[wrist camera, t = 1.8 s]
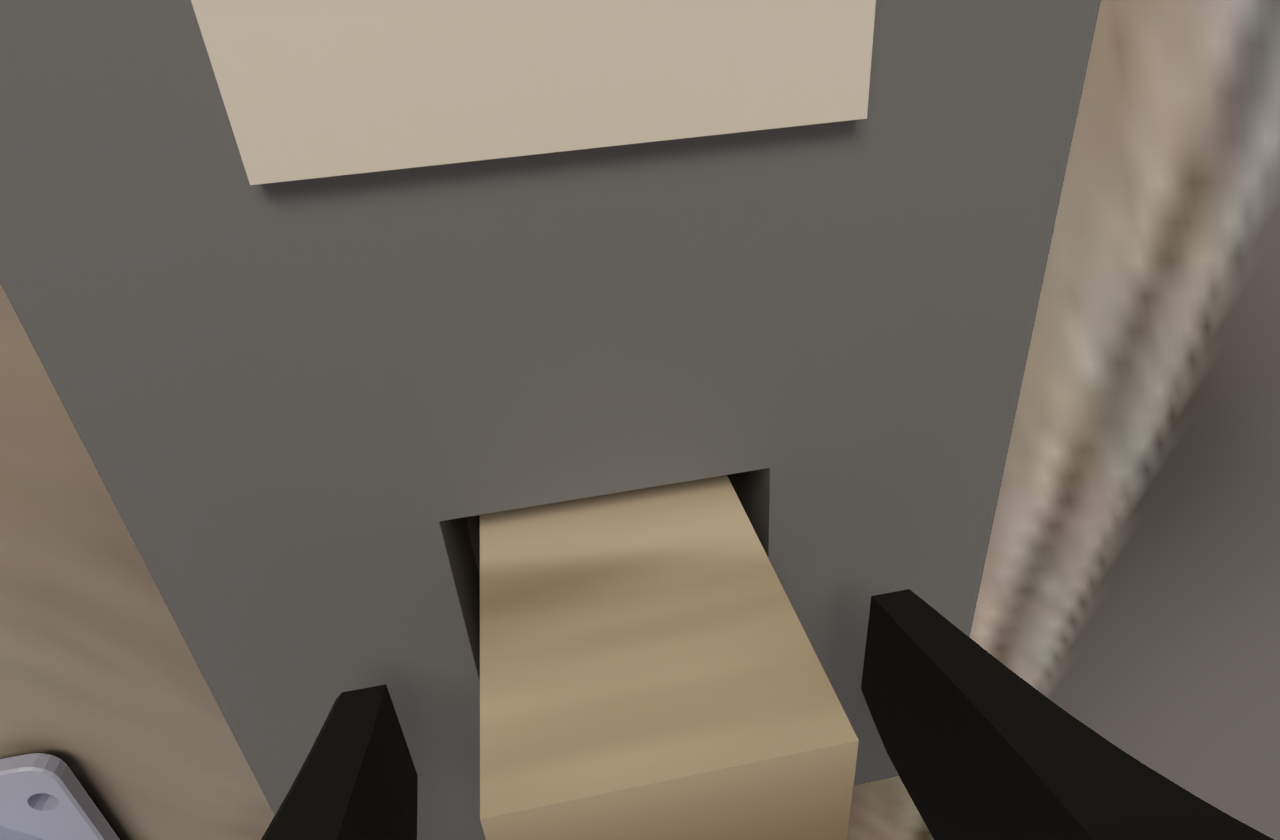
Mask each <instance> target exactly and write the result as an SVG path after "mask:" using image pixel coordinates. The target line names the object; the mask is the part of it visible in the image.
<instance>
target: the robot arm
mask: <svg viewBox="0 0 1280 840" xmlns="http://www.w3.org/2000/svg"><path fill="white" fill-rule="evenodd" d="M861 690H862V693H863V695H864V698H865V700H866V703H867V705H868V708H869V711H870V713H871V716H872V718H873V721H874V723H875V726H876V728H877V730H878V733H879V735H880V737H881V740H882V742H883V745H884V747H885V749H886V752H887V754H888V756H889V758H890V760H891V761H892V763H893V765H894V767H895V769H896V771H897V773H898V774H899V776H900V778H901V780H902V782H903V784H904V786H905V787H906V789H907V791H908V793H909V795H910V797H911V798H912V800H913V802H914V804H915V806H916V808H917V809H918V811H919V813H920V815H921V817H922V818H923V820H924V822H925V824H926V826H927V827H928V829H929V831H930V833H931V835H932V837H933V838H934V840H1274V839H1272V838H1270V837H1268V836H1266V835H1264V834H1262V833H1260V832H1259V831H1257V830H1255V829H1253V828H1251V827H1249V826H1248V825H1246V824H1244V823H1242V822H1240V821H1238V820H1236V819H1235V818H1233V817H1231V816H1229V815H1228V814H1226V813H1224V812H1222V811H1221V810H1219V809H1217V808H1215V807H1213V806H1212V805H1210V804H1208V803H1207V802H1205V801H1203V800H1201V799H1200V798H1198V797H1196V796H1195V795H1193V794H1191V793H1190V792H1188V791H1186V790H1185V789H1183V788H1182V787H1180V786H1178V785H1177V784H1175V783H1173V782H1171V781H1170V780H1168V779H1167V778H1165V777H1164V776H1162V775H1160V774H1159V773H1157V772H1155V771H1154V770H1152V769H1150V768H1149V767H1147V766H1146V765H1144V764H1142V763H1140V762H1139V761H1138V760H1136V759H1135V758H1133V757H1132V756H1130V755H1129V754H1127V753H1125V752H1124V751H1122V750H1121V749H1119V748H1118V747H1116V746H1115V745H1113V744H1112V743H1110V742H1109V741H1107V740H1106V739H1105V738H1103V737H1102V736H1100V735H1099V734H1097V733H1096V732H1094V731H1093V730H1092V729H1090V728H1088V727H1087V726H1086V725H1084V724H1083V723H1081V722H1080V721H1079V720H1077V719H1076V718H1074V717H1072V716H1071V715H1070V714H1069V713H1067V712H1066V711H1064V710H1063V709H1062V708H1060V707H1059V706H1058V705H1056V704H1055V703H1053V702H1052V701H1051V700H1049V699H1048V698H1047V697H1045V696H1044V695H1043V694H1041V693H1040V692H1039V691H1037V690H1036V689H1035V688H1033V687H1032V686H1031V685H1030V684H1028V683H1027V682H1026V681H1024V680H1023V679H1022V678H1020V677H1019V676H1018V675H1016V674H1015V673H1014V672H1012V671H1011V670H1010V669H1008V668H1007V667H1006V666H1005V665H1003V664H1002V663H1001V662H1000V661H998V660H997V659H996V658H994V657H993V656H992V655H991V654H989V653H988V652H987V651H986V650H984V649H983V648H982V647H981V646H979V645H978V644H977V643H976V642H974V641H973V640H972V639H971V638H969V637H968V636H967V635H966V634H964V633H963V632H962V631H961V630H960V629H958V628H957V627H956V626H955V625H953V624H952V623H951V622H950V621H948V620H947V619H946V618H945V617H944V616H942V615H941V614H940V613H939V612H937V611H936V610H935V609H934V608H932V607H931V606H930V605H929V604H927V603H926V602H925V601H924V600H922V599H921V598H920V597H919V596H917V595H916V594H915V593H914V592H912V591H911V590H910V589H907V590H901V591H896V592H890V593H885V594H879V595H874V596H871V603H870V612H869V621H868V629H867V638H866V647H865V656H864V665H863V674H862V682H861ZM417 792H418V775H417V772H416V769H415V766H414V763H413V761H412V758H411V755H410V752H409V749H408V746H407V743H406V740H405V737H404V734H403V732H402V729H401V726H400V723H399V720H398V717H397V714H396V711H395V708H394V705H393V703H392V700H391V697H390V694H389V691H388V688H387V685H386V684H385V685H379V686H374V687H368V688H363V689H357V690H352V691H346V692H342V693H341V694H340V695H339V696H338V697H337V699H336V700H335V702H334V704H333V706H332V708H331V710H330V712H329V714H328V716H327V718H326V720H325V722H324V724H323V726H322V728H321V730H320V732H319V734H318V736H317V738H316V740H315V742H314V744H313V746H312V748H311V750H310V752H309V754H308V756H307V758H306V760H305V762H304V764H303V765H302V767H301V769H300V771H299V773H298V775H297V777H296V779H295V780H294V782H293V784H292V786H291V788H290V790H289V792H288V793H287V795H286V797H285V799H284V800H283V802H282V804H281V806H280V808H279V809H278V811H277V813H276V815H275V816H274V818H273V820H272V822H271V823H270V825H269V827H268V829H267V830H266V832H265V834H264V836H263V837H262V839H261V840H417ZM0 840H120V839H119V838H118V836H117V835H116V833H115V832H114V831H113V829H112V828H111V826H110V825H109V823H108V822H107V821H106V819H105V818H104V816H103V815H102V814H101V812H100V811H99V809H98V808H97V806H96V805H95V804H94V802H93V801H92V799H91V798H90V797H89V795H88V794H87V792H86V791H85V789H84V788H83V787H82V785H81V784H80V782H79V781H78V779H77V778H76V777H75V775H74V774H73V772H72V771H71V770H70V768H69V767H68V765H67V764H66V763H65V762H64V761H63V760H61V759H60V758H58V757H56V756H54V755H51V754H45V753H30V754H25V755H19V756H14V757H9V758H3V759H0Z"/></svg>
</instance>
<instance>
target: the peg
mask: <svg viewBox="0 0 1280 840" xmlns="http://www.w3.org/2000/svg"><path fill="white" fill-rule="evenodd" d="M858 743H859V740H858V738H857V736H856V734H855V732H854V730H853V728H852V726H851V724H850V722H849V720H848V718H847V716H846V714H845V712H844V710H843V708H842V706H841V704H840V702H839V700H838V698H837V696H836V694H835V692H834V689H833V687H832V685H831V683H830V681H829V679H828V677H827V675H826V673H825V671H824V669H823V667H822V665H821V663H820V661H819V659H818V657H817V655H816V653H815V651H814V649H813V647H812V645H811V643H810V641H809V639H808V637H807V635H806V633H805V631H804V629H803V627H802V625H801V623H800V621H799V619H798V617H797V615H796V613H795V611H794V609H793V607H792V605H791V603H790V601H789V599H788V597H787V595H786V593H785V591H784V589H783V587H782V585H781V583H780V581H779V579H778V577H777V575H776V573H775V571H774V569H773V567H772V565H771V563H770V561H769V559H768V557H767V555H766V553H765V551H764V549H763V547H762V545H761V543H760V541H759V539H758V537H757V535H756V533H755V531H754V528H753V526H752V524H751V522H750V520H749V518H748V516H747V514H746V512H745V510H744V508H743V506H742V504H741V502H740V500H739V498H738V496H737V494H736V492H735V490H734V488H733V486H732V484H731V482H730V480H729V478H728V476H727V475H723V476H717V477H710V478H704V479H698V480H692V481H686V482H679V483H673V484H667V485H661V486H655V487H649V488H642V489H636V490H630V491H624V492H618V493H612V494H605V495H599V496H593V497H587V498H581V499H575V500H568V501H562V502H556V503H550V504H544V505H537V506H531V507H525V508H519V509H513V510H507V511H500V512H494V513H488V514H482V515H480V821H481V825H482V828H483V831H484V835H485V838H486V840H847V838H848V830H849V821H850V812H851V804H852V795H853V786H854V778H855V769H856V760H857V751H858Z"/></svg>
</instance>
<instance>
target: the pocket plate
mask: <svg viewBox="0 0 1280 840" xmlns="http://www.w3.org/2000/svg"><path fill="white" fill-rule="evenodd" d="M1100 2H1101V0H0V283H1V285H2V287H3V289H4V291H5V292H6V294H7V296H8V298H9V300H10V302H11V304H12V306H13V308H14V310H15V312H16V314H17V316H18V318H19V320H20V322H21V324H22V325H23V327H24V329H25V331H26V333H27V335H28V337H29V339H30V341H31V343H32V345H33V347H34V349H35V351H36V353H37V355H38V357H39V358H40V360H41V362H42V364H43V366H44V368H45V370H46V372H47V374H48V376H49V378H50V380H51V382H52V384H53V386H54V388H55V389H56V391H57V393H58V395H59V397H60V399H61V401H62V403H63V405H64V407H65V409H66V411H67V413H68V415H69V417H70V419H71V421H72V422H73V424H74V426H75V428H76V430H77V432H78V434H79V436H80V438H81V440H82V442H83V444H84V446H85V448H86V450H87V452H88V454H89V455H90V457H91V459H92V461H93V463H94V465H95V467H96V469H97V471H98V473H99V475H100V477H101V479H102V481H103V483H104V485H105V486H106V488H107V490H108V492H109V494H110V496H111V498H112V500H113V502H114V504H115V506H116V508H117V510H118V512H119V514H120V516H121V518H122V519H123V521H124V523H125V525H126V527H127V529H128V531H129V533H130V535H131V537H132V539H133V541H134V543H135V545H136V547H137V549H138V550H139V552H140V554H141V556H142V558H143V560H144V562H145V564H146V566H147V568H148V570H149V572H150V574H151V576H152V578H153V580H154V582H155V583H156V585H157V587H158V589H159V591H160V593H161V595H162V597H163V599H164V601H165V603H166V605H167V607H168V609H169V611H170V613H171V615H172V616H173V618H174V620H175V622H176V624H177V626H178V628H179V630H180V632H181V634H182V636H183V638H184V640H185V642H186V644H187V646H188V647H189V649H190V651H191V653H192V655H193V657H194V659H195V661H196V663H197V665H198V667H199V669H200V671H201V673H202V675H203V677H204V679H205V680H206V682H207V684H208V686H209V688H210V690H211V692H212V694H213V696H214V698H215V700H216V702H217V704H218V706H219V708H220V710H221V712H222V713H223V715H224V717H225V719H226V721H227V723H228V725H229V727H230V729H231V731H232V733H233V735H234V737H235V739H236V741H237V743H238V744H239V746H240V748H241V750H242V752H243V754H244V756H245V758H246V760H247V762H248V764H249V766H250V768H251V770H252V772H253V774H254V776H255V777H256V779H257V781H258V783H259V785H260V787H261V789H262V791H263V793H264V795H265V797H266V799H267V801H268V803H269V805H270V807H271V808H272V810H273V812H274V814H275V815H276V813H277V811H278V809H279V808H280V806H281V804H282V802H283V800H284V799H285V797H286V795H287V793H288V792H289V790H290V788H291V786H292V784H293V782H294V780H295V779H296V777H297V775H298V773H299V771H300V769H301V767H302V765H303V764H304V762H305V760H306V758H307V756H308V754H309V752H310V750H311V748H312V746H313V744H314V742H315V740H316V738H317V736H318V734H319V732H320V730H321V728H322V726H323V724H324V722H325V720H326V718H327V716H328V714H329V712H330V710H331V708H332V706H333V704H334V702H335V700H336V699H337V697H338V696H339V695H340V694H341V693H342V692H346V691H352V690H357V689H363V688H368V687H374V686H379V685H385V684H386V685H387V688H388V691H389V694H390V697H391V700H392V703H393V705H394V708H395V711H396V714H397V717H398V720H399V723H400V726H401V729H402V732H403V734H404V737H405V740H406V743H407V746H408V749H409V752H410V755H411V758H412V761H413V763H414V766H415V769H416V772H417V775H418V792H417V840H486V838H485V835H484V831H483V828H482V825H481V821H480V581H479V577H478V572H477V568H476V564H475V559H474V555H473V551H472V547H471V542H470V538H469V534H468V529H467V525H466V521H465V517H470V516H476V515H482V514H488V513H494V512H500V511H507V510H513V509H519V508H525V507H531V506H537V505H544V504H550V503H556V502H562V501H568V500H575V499H581V498H587V497H593V496H599V495H605V494H612V493H618V492H624V491H630V490H636V489H642V488H649V487H655V486H661V485H667V484H673V483H679V482H686V481H692V480H698V479H704V478H710V477H717V476H723V475H727V476H728V478H729V480H730V482H731V484H732V486H733V488H734V490H735V492H736V494H737V496H738V498H739V500H740V502H741V504H742V506H743V508H744V510H745V512H746V514H747V516H748V518H749V520H750V522H751V524H752V526H753V528H754V531H755V533H756V535H757V537H758V539H759V541H760V543H761V545H762V547H763V549H764V551H765V553H766V555H767V557H768V559H769V561H770V563H771V565H772V567H773V569H774V571H775V573H776V575H777V577H778V579H779V581H780V583H781V585H782V587H783V589H784V591H785V593H786V595H787V597H788V599H789V601H790V603H791V605H792V607H793V609H794V611H795V613H796V615H797V617H798V619H799V621H800V623H801V625H802V627H803V629H804V631H805V633H806V635H807V637H808V639H809V641H810V643H811V645H812V647H813V649H814V651H815V653H816V655H817V657H818V659H819V661H820V663H821V665H822V667H823V669H824V671H825V673H826V675H827V677H828V679H829V681H830V683H831V685H832V687H833V689H834V692H835V694H836V696H837V698H838V700H839V702H840V704H841V706H842V708H843V710H844V712H845V714H846V716H847V718H848V720H849V722H850V724H851V726H852V728H853V730H854V732H855V734H856V736H857V738H858V740H859V743H858V751H857V760H856V769H855V778H854V785H857V784H862V783H866V782H871V781H876V780H880V779H885V778H889V777H894V776H899V774H898V773H897V771H896V769H895V767H894V765H893V763H892V761H891V760H890V758H889V756H888V754H887V752H886V749H885V747H884V745H883V742H882V740H881V737H880V735H879V733H878V730H877V728H876V726H875V723H874V721H873V718H872V716H871V713H870V711H869V708H868V705H867V703H866V700H865V698H864V695H863V693H862V690H861V682H862V674H863V665H864V656H865V647H866V638H867V629H868V621H869V612H870V603H871V596H874V595H879V594H885V593H890V592H896V591H901V590H907V589H910V590H911V591H912V592H914V593H915V594H916V595H917V596H919V597H920V598H921V599H922V600H924V601H925V602H926V603H927V604H929V605H930V606H931V607H932V608H934V609H935V610H936V611H937V612H939V613H940V614H941V615H942V616H944V617H945V618H946V619H947V620H948V621H950V622H951V623H952V624H953V625H955V626H956V627H957V628H958V629H960V630H961V631H962V632H963V633H964V634H966V635H967V636H968V637H969V636H970V631H971V627H972V622H973V617H974V612H975V607H976V602H977V598H978V593H979V588H980V583H981V578H982V573H983V568H984V564H985V559H986V554H987V549H988V544H989V539H990V535H991V530H992V525H993V520H994V515H995V510H996V505H997V501H998V496H999V491H1000V486H1001V481H1002V476H1003V472H1004V467H1005V462H1006V457H1007V452H1008V447H1009V442H1010V438H1011V433H1012V428H1013V423H1014V418H1015V413H1016V409H1017V404H1018V399H1019V394H1020V389H1021V384H1022V379H1023V375H1024V370H1025V365H1026V360H1027V355H1028V350H1029V346H1030V341H1031V336H1032V331H1033V326H1034V321H1035V316H1036V312H1037V307H1038V302H1039V297H1040V292H1041V287H1042V283H1043V278H1044V273H1045V268H1046V263H1047V258H1048V253H1049V249H1050V244H1051V239H1052V234H1053V229H1054V224H1055V220H1056V215H1057V210H1058V205H1059V200H1060V195H1061V190H1062V186H1063V181H1064V176H1065V171H1066V166H1067V161H1068V157H1069V152H1070V147H1071V142H1072V137H1073V132H1074V128H1075V123H1076V118H1077V113H1078V108H1079V103H1080V98H1081V94H1082V89H1083V84H1084V79H1085V74H1086V69H1087V65H1088V60H1089V55H1090V50H1091V45H1092V40H1093V35H1094V31H1095V26H1096V21H1097V16H1098V11H1099V6H1100Z"/></svg>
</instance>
